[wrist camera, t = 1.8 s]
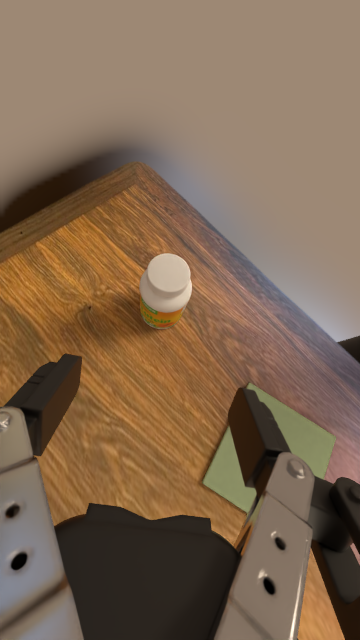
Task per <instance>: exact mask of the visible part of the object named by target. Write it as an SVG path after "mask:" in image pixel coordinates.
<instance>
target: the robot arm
mask: <svg viewBox="0 0 360 640" xmlns="http://www.w3.org/2000/svg"><path fill="white" fill-rule="evenodd" d="M81 364H82V357H81V356H76V355H71V354H66V353H65V354H64V355H63V356H62V357H61V358H60V360H59V361H58V362H57V363H55V362H49V363H47V364H45V365H43V366H41V367H40V368H39V369H38V370H37V371H36V372H35V373H34V374H33V376H31V377H30V378H29V380H28V381H27V382H26V383H25V384H24V385H23V386H22V387H21V388H20V389H19V390H18V391H17V393H16V394H15V395H14V396H13V397H12V398H11V399H10V400H9V401H8V402H7V403H6V404H5V406H4V407H0V640H298V638H297V636H298V629H299V622H300V615H301V608H302V602H303V595H304V588H305V581H306V574H307V567H308V560H309V554H310V547H311V549H312V551H313V554H314V557H315V560H316V562H317V565H318V568H319V570H320V573H321V576H322V578H323V581H324V584H325V587H326V589H327V592H328V595H329V597H330V600H331V603H332V605H333V608H334V611H335V614H336V616H337V619H338V622H339V624H340V627H341V630H342V632H343V635H344V638H345V640H360V565H359V563H358V561H357V559H356V557H355V555H354V553H353V551H352V549H351V547H350V545H351V544H352V543H354V544H355V546H356V548H357V550H358V552H359V554H360V485H359V484H358V483H356V482H355V481H353V480H351V479H349V478H345V477H340V478H338V479H337V480H336V482H335V483H334V484H332V483H330V482H328V481H326V480H323V479H321V478H319V477H317V476H315V475H314V474H313V472H312V470H311V469H310V467H309V466H308V465H307V463H306V462H305V461H303V460H302V459H301V458H300V457H298V456H297V455H295V454H292V452H291V450H290V448H289V446H288V444H287V442H286V440H285V438H284V436H283V434H282V432H281V430H280V428H278V424H277V422H276V420H275V418H274V416H273V414H272V412H271V410H270V409H269V408H268V407H267V406H266V405H265V403H264V402H261V401H260V400H259V398H258V396H257V394H256V392H255V391H254V390H251V389H245V388H239V389H238V390H237V392H236V395H235V397H234V400H233V402H232V404H231V407H230V409H229V413H228V423H229V427H230V431H231V434H232V438H233V442H234V446H235V450H236V454H237V458H238V461H239V465H240V469H241V473H242V477H243V481H244V485H245V487H249V488H255V490H256V493H257V494H256V496H255V498H254V500H253V502H252V504H251V507H250V509H249V512H248V514H247V516H246V519H245V521H244V524H243V526H242V528H241V531H240V533H239V535H238V538H237V540H236V542H235V544H234V546H232V545H231V544H230V543H229V542H228V541H227V540H226V539H225V538H223V537H222V536H221V535H219V534H217V533H216V532H214V531H212V530H211V521H210V518H203V517H195V516H187V515H178V516H173V517H167V518H162V519H157V520H148V519H146V518H144V517H141V516H139V515H137V514H135V513H133V512H130V511H128V510H126V509H124V508H122V507H117V506H109V505H102V504H94V503H89V506H88V509H87V512H86V514H83V515H78V516H75V517H72V518H69V519H67V520H65V521H63V522H61V523H59V524H57V525H56V526H54V525H53V521H52V517H51V513H50V509H49V505H48V501H47V496H46V492H45V488H44V484H43V480H42V476H41V472H40V467H39V463H38V460H37V458H36V457H35V458H34V456H33V455H36V456H41V455H42V453H43V451H44V450H45V448H46V446H47V444H48V443H49V441H50V439H51V437H52V436H53V434H54V432H55V430H56V429H57V427H58V425H59V423H60V422H61V420H62V418H63V416H64V415H65V413H66V411H67V409H68V408H69V406H70V404H71V402H72V401H73V399H74V397H75V395H76V393H77V391H78V388H79V383H80V374H81Z"/></svg>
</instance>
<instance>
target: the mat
mask: <svg viewBox="0 0 360 640" xmlns="http://www.w3.org/2000/svg"><path fill="white" fill-rule="evenodd" d="M246 389H251V390H254V391H255V392H256V394H257V396H258V398H259V400H260V401H261V402H264V403H265V405H266V406H267V407H268V408H269V409H270V410H271V412H272V414H273V416H274V418H275V420H276V422H277V424H278V428H280V430H281V432H282V434H283V436H284V438H285V440H286V442H287V444H288V446H289V448H290V450H291V452H292V454H295V455H297V456H298V457H300V458H301V459H302V460H303V461H305V462H306V463H307V465H308V466H309V467H310V469H311V470H312V472H313V474H314V475H315V476H317V477H319V478H321V479H324V476H325V473H326V469H327V466H328V463H329V459H330V456H331V453H332V449H333V446H334V443H335V439H336V437H335V436H334V435H332V434H331V433H329V432H327V431H326V430H324V429H323V428H321V427H319V426H318V425H316V424H315V423H313V422H312V421H310V420H308V419H307V418H305V417H304V416H302V415H300V414H299V413H297V412H296V411H294V410H292V409H291V408H289V407H288V406H286V405H285V404H283V403H281V402H280V401H278V400H277V399H275V398H273V397H272V396H270V395H269V394H267V393H266V392H264V391H262V390H261V389H259V388H258V387H256V386H254V385H253V384H251V383H248V385H247V387H246ZM202 483H203V484H204V485H206V486H207V487H209V488H210V489H212V490H213V491H215V492H216V493H218V494H219V495H221V496H222V497H224V498H225V499H227V500H228V501H230V502H231V503H233V504H234V505H236V506H237V507H239V508H240V509H242V510H243V511H245V512H246V513H248V512H249V509H250V507H251V504H252V502H253V500H254V498H255V496H256V494H257V493H256V490H255V488H249V487H245V485H244V481H243V477H242V473H241V469H240V465H239V461H238V458H237V454H236V450H235V446H234V442H233V438H232V434H231V431H230V427H229V425H228V427H227V429H226V432H225V434H224V436H223V438H222V440H221V442H220V444H219V446H218V449H217V451H216V453H215V455H214V457H213V459H212V461H211V463H210V466H209V468H208V470H207V472H206V474H205V476H204V478H203V480H202Z"/></svg>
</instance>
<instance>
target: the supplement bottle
mask: <svg viewBox="0 0 360 640" xmlns="http://www.w3.org/2000/svg"><path fill="white" fill-rule="evenodd" d="M191 292H192V284H191V280H190V269H189V266H188V265H187V263H186V262H185V261H184V260H183V259H182V258H181V257H179V256H177V255H174V254H160V255H158V256H156V257H155V258H153V259H152V260H151V261H150V263H149V265H148V268H147V270H146V271H145V272H144V273H143V275H142V277H141V280H140V312H141V316H142V318H143V319H144V321H145V322H146V323H147V324H148V325H150V326H151V327H153V328H157V329H167V328H170V327H172V326H174V325H175V324H176V323H177V322H178V321H179V319H180V318H181V316H182V313H183V311H184V309H185V307H186V305H187V303H188V301H189V299H190V296H191Z"/></svg>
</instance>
